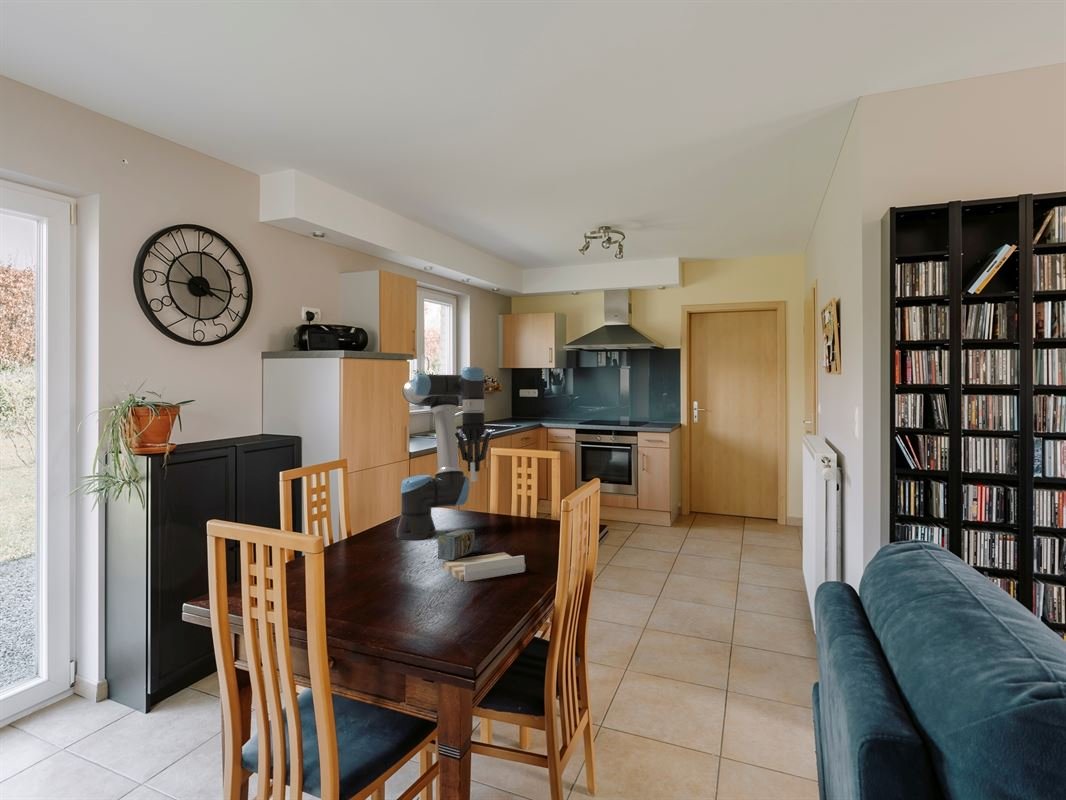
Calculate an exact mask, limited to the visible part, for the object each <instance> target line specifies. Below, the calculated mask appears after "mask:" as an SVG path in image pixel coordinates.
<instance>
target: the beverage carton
mask: <svg viewBox="0 0 1066 800" xmlns="http://www.w3.org/2000/svg"><path fill="white" fill-rule="evenodd" d="M475 532H476V530H475V529H466V528H465V529H464V528H461V529H456V530H453V531H451V532H447V533H444V534H442V535H439V536H438V539H437V545H438V546H437V560H443V561H448V560H455V559H460V558H461V557H464V556H466V555H469V554H470V553H472V552H474V551H475V537H476V536H475V534H476V533H475Z"/></svg>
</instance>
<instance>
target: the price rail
mask: <svg viewBox="0 0 1066 800" xmlns="http://www.w3.org/2000/svg"><path fill="white" fill-rule="evenodd" d="M524 564H525V555H516V556H515V555H514V556H512V557H508V558H501V559H495V560H488V561H481V562H475V563H468V564H464V583H465V582H470V581H478V580H484V579H489V578H495V577H502V576H506V575H507V576H508V575H513V574H519V573H524V572H525V571H524Z"/></svg>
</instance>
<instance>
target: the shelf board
mask: <svg viewBox="0 0 1066 800" xmlns="http://www.w3.org/2000/svg"><path fill="white" fill-rule="evenodd" d="M508 557H513V556H512V555H510V554H509V553H506V552H497V553H491V554H483V555H482V554H481V555H478V556H470V557H469V556H468V557H463V558H457V559H454V560H443V561H442V565H443V566H442V568H444V569H445V570H446V571H447V572H449V574H451V575H452V576H453V577H454V578H455V579H457V580H458V581H460V582H463V581H464V564H468V563H475V562H481V561H488V560H495V559H501V558H508ZM526 566H527V565H526V563H524V572H525V571H526V570H527V568H526ZM464 582H465V581H464Z"/></svg>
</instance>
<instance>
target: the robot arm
mask: <svg viewBox="0 0 1066 800" xmlns="http://www.w3.org/2000/svg"><path fill="white" fill-rule="evenodd" d="M485 377H486V376H485V370H484V369H483V367H480V366H479V367H478V366H467V367H465V366H464V367H463V368H462V371H461V374H426V373H423V374H416V375H414V377H413V379H410V380H408V381H407V382H405V383H404V385H403V387H402V396H403V398H404V399H405V400H406V401H407V402H408V403H410V404H412V405H415V406H417V407H429V408H430V412H431V413H433V414H434V425H435V438H436V439H435V441H436V454H437V455H436V457H437V471H436V472H435V474H434V477H432V475H430V474H419V475H414V476H409V477H406V478H404V479H403V480H402V481H401V483H400V484H401V485H400V494H401V495H400V499H401V501H400V508H401V509H400V518H399V521H398V522H399V523H398V526H397V529H396V538H397V539H400V540H406V541H418V540H425V539H426V540H427V539H430V538H433V537H434V536H436V534H437V531H436V529H437V528H436V526H435V523H434V519H433V516H432V509H436V508H447V507H449V508H450V507H455V508H456V507H458V506H459V507H461V506H464V505H465V504H466V503H467V501H468V499H469V493H470V482H471V483H475V482H478V473H479V472H480V469H481V468H480V467H481V466H480V465H481V463H480V462H482V461H484V460H486V456H487V452H488V446H489V442H490V439H491V437H492V435H493V433H492V432H491V431H490V432H489V430H487V428H486V426H485V425H486V424H485V412H484V411H485V379H486V378H485ZM461 405H462V406H461ZM460 406H461V407H462V422H461V423H462V426H461V429H460V430H459V431H458V430H457V421H456V420H457V419H456V412H457V411H458V410H459V407H460ZM457 431H458V432H457ZM464 437H465V438H466V443H467V444H466V443H465V439H464ZM482 437H483V441H482V446H481V439H482ZM459 450H460V451H459ZM459 452H460V455H461V459H462V460H463V461H465V462H467V471H468V472H470V473H469V474H470V479H469V477H468V476H466V475H465V474H464V470H462V469H461V468H460V459H459Z"/></svg>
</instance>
